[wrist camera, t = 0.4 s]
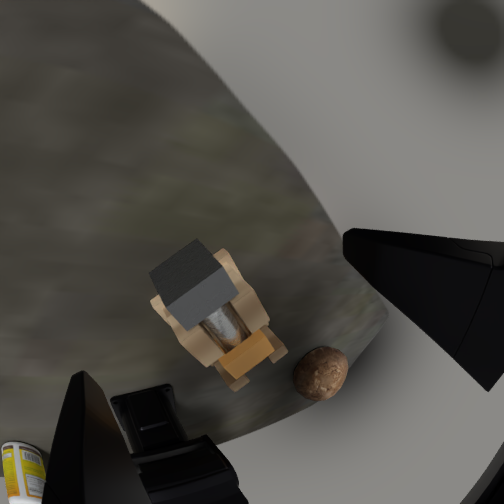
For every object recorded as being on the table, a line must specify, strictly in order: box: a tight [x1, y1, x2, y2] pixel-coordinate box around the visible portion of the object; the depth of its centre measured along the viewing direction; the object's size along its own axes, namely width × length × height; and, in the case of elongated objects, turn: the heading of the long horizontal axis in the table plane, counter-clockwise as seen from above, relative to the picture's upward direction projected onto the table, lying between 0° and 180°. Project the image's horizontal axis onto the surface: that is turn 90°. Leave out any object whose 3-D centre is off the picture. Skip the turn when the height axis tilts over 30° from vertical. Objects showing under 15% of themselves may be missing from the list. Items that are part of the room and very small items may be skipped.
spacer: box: [214, 320, 275, 380], centre depth 23 cm, size 2×4×3 cm, turn 114°
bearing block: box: [150, 248, 288, 392], centre depth 23 cm, size 10×7×5 cm
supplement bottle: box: [2, 442, 46, 504], centre depth 16 cm, size 6×6×10 cm
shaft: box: [149, 239, 248, 352], centre depth 21 cm, size 12×4×4 cm, turn 24°
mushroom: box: [293, 347, 348, 401], centre depth 37 cm, size 8×8×6 cm
